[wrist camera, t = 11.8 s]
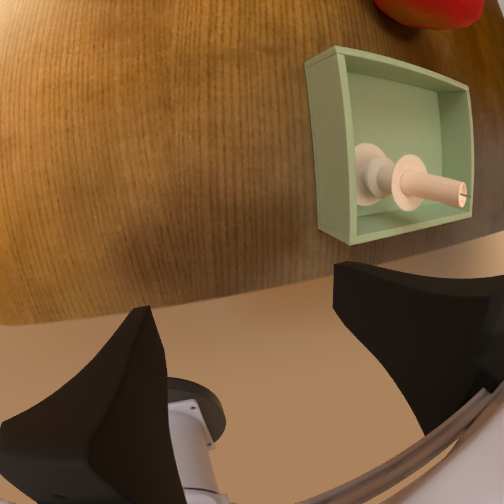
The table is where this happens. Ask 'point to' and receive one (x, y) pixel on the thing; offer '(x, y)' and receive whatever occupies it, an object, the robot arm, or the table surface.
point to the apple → (433, 12)
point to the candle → (401, 181)
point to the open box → (384, 138)
